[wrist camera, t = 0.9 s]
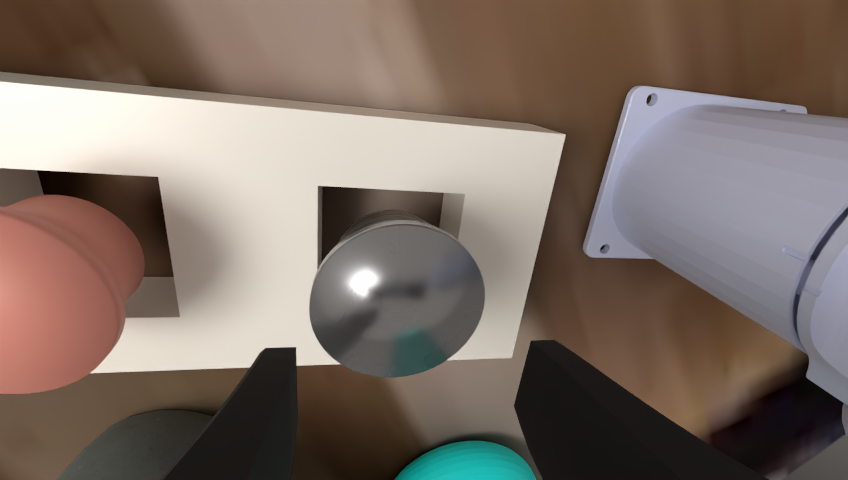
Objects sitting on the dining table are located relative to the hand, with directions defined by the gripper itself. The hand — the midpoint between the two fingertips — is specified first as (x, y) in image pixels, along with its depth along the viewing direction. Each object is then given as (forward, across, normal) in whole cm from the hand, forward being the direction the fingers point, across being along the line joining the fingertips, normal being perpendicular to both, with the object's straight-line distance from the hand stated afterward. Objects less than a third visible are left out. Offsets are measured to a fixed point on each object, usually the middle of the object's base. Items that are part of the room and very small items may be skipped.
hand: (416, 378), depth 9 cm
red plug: (+6, +10, 0) cm, 12 cm away
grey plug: (+6, 0, 0) cm, 6 cm away
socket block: (+9, +5, 0) cm, 11 cm away
